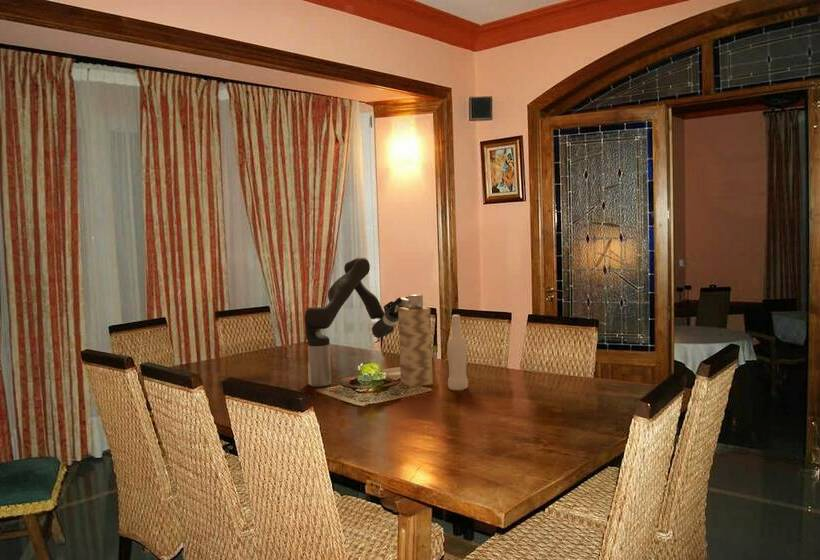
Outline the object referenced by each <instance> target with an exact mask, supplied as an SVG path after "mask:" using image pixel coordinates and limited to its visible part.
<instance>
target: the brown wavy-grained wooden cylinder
mask: <svg viewBox="0 0 820 560" xmlns="http://www.w3.org/2000/svg"><path fill="white" fill-rule="evenodd" d="M398 315H399V321H398V336H399V337H398V339H399V365H400V366H399V367H400V372H401V380H400V382H401V381H402V382H403V383H402V382H401V383H402V384H404V383H405V384H404V385H406V384H407V385H406V386H408V385H409V386H408V387H410V386H414V387H420V386H421V387H423V386H429V385H433V360H432V359H433V358H432V357H433V355H432V330H431V329H432V325H431V324H432V323H431V322H432V321H431V320H432V319H431V308H430V307H425V306H423V309H409V308H408V307H400V308H398Z"/></svg>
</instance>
